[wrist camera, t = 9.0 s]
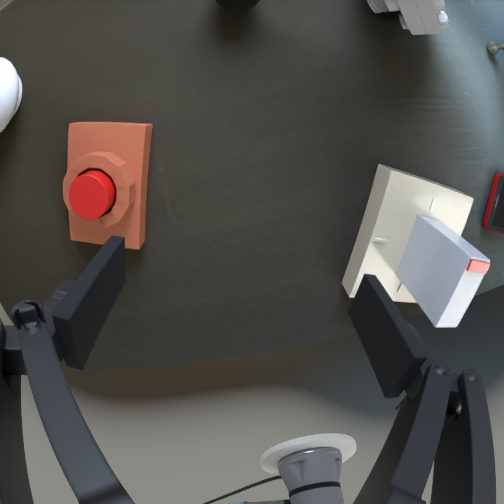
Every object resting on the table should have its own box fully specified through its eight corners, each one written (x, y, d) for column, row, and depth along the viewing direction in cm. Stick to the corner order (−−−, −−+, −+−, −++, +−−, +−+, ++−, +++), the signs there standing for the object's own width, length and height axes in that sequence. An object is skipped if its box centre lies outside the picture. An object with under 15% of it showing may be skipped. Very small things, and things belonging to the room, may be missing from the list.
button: (115, 215, 25) (108, 222, 24) (77, 210, 25) (69, 217, 23) (116, 171, 23) (108, 176, 22) (77, 168, 23) (67, 173, 21)
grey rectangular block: (415, 276, 30) (457, 328, 22) (395, 274, 30) (436, 329, 22) (438, 219, 27) (492, 262, 19) (417, 214, 27) (472, 257, 19)
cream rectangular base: (420, 290, 35) (431, 304, 32) (341, 282, 34) (349, 298, 31) (458, 190, 29) (474, 199, 26) (378, 163, 27) (392, 170, 25)
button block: (145, 240, 30) (134, 258, 27) (79, 231, 29) (62, 247, 26) (153, 124, 25) (139, 127, 21) (79, 121, 24) (58, 125, 20)
